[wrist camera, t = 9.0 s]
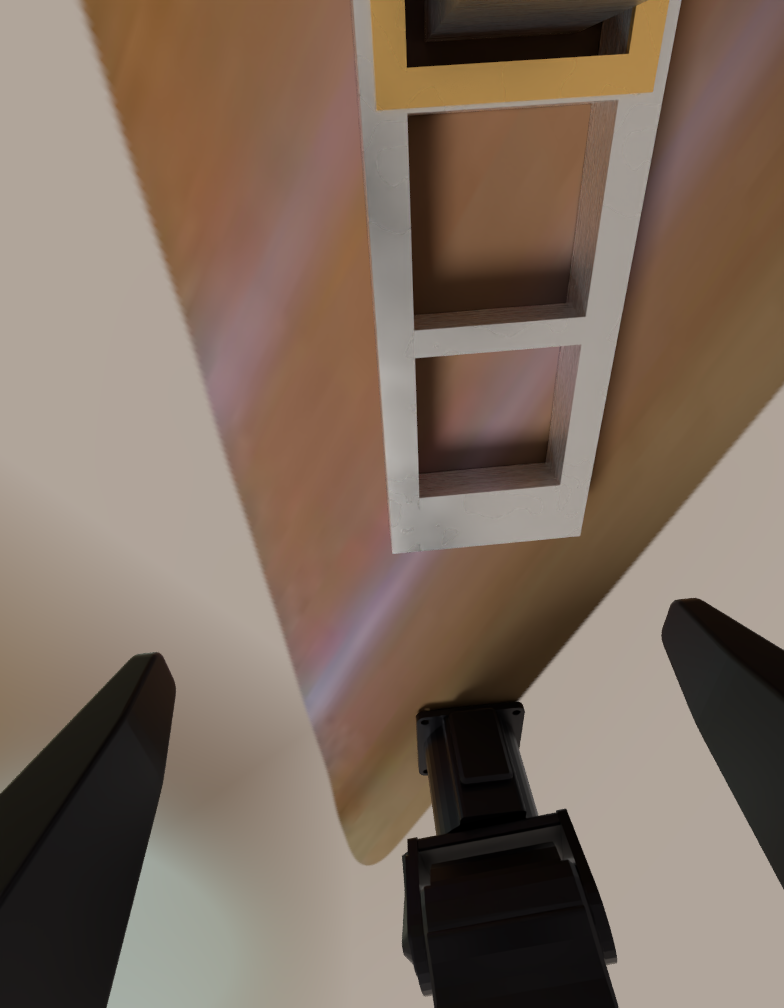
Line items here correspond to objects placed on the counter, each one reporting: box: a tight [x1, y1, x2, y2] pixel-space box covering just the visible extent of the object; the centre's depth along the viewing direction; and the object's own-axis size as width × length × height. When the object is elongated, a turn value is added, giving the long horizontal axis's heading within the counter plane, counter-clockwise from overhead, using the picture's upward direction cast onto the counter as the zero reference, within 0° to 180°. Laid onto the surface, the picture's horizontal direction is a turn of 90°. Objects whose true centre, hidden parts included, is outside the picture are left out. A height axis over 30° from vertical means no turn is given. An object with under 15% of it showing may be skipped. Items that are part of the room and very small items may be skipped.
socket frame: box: [350, 0, 681, 554], centre depth 16 cm, size 24×8×2 cm, turn 3°
